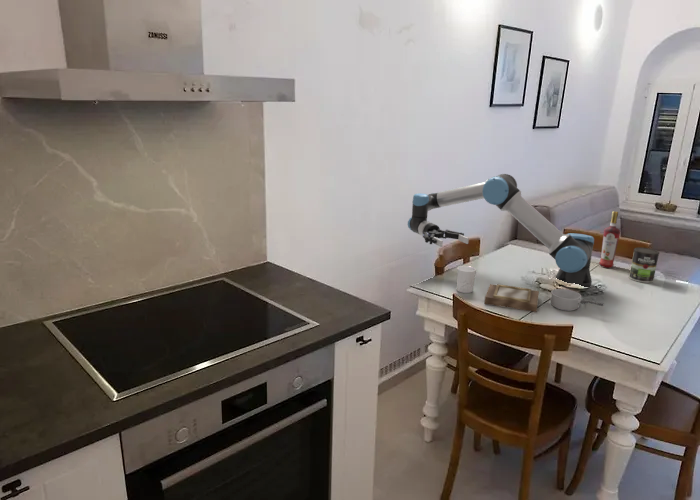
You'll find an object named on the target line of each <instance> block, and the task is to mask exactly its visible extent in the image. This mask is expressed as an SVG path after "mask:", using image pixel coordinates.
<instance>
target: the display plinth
mask: <svg viewBox="0 0 700 500" xmlns="http://www.w3.org/2000/svg"><path fill="white" fill-rule="evenodd" d="M539 294H540V291H539V290H535V289H532V288H526V287H521V286H520V287H518V286H513V285H505V284H499V283H498V284H493V283H492V284H491V283H490V284H489V286H488V289H487V291H486V294H485V296H484V304H485V305H489V306H497V307H502V308H509V309H515V310H516V309H517V310H521V311H529V312H535V313H537V309H538V302H539Z"/></svg>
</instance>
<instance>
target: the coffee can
mask: <svg viewBox="0 0 700 500" xmlns="http://www.w3.org/2000/svg"><path fill="white" fill-rule="evenodd" d="M632 255H633V256H632V260H631V266H630V271H629V276H628V278H629V279H630V280H632V281H634V282H638V283H644V284H650V283H653V282H654V279H655V275H656V269H657V265H658V262H659V261H658V259H659V255H660V251H658V250H657V249H653V248H650V247H635V248H633V254H632Z"/></svg>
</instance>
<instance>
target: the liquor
mask: <svg viewBox="0 0 700 500" xmlns="http://www.w3.org/2000/svg"><path fill="white" fill-rule="evenodd" d="M618 215H619V211H614V210H613V211H612V212H611V219H610V224H609V226H607V227H605V228H604V229H603V236H602V243H601V253H600V261H599V262H598V264H599V265H600V267H602V268H606V269H611V268H613V267H614V266H615V264H614V263H615V257H616V254H617V253H616V251H617V248H618V244H619V239H620V235H621V230H620V229H619V228H618V227H617V220H618Z"/></svg>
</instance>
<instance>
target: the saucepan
mask: <svg viewBox="0 0 700 500" xmlns="http://www.w3.org/2000/svg"><path fill="white" fill-rule="evenodd" d="M550 293H551V294H550V295H551V296H550V304H551V306H553V307H554V308H555V309H557V310H561V311H569V312H570V311H574V310H577V309H579V308H580V305H585V304H591V305H595V306H596V305H597V306H601V307H603V306H604V303H602V302H599V301H598V302H597V301H593V300H588V299H583V298H582V295H581V293H579V292H578V291H575V290H571V289H568V288H567V289H566V288H555V289H552V290H550Z"/></svg>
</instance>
